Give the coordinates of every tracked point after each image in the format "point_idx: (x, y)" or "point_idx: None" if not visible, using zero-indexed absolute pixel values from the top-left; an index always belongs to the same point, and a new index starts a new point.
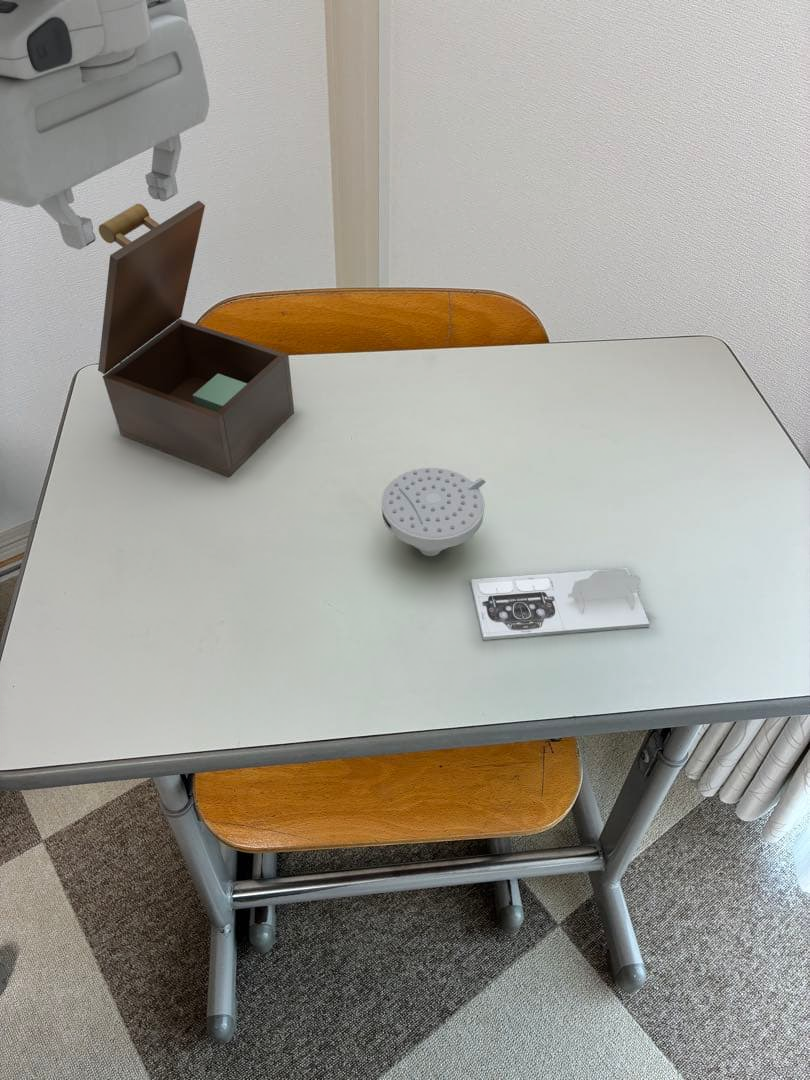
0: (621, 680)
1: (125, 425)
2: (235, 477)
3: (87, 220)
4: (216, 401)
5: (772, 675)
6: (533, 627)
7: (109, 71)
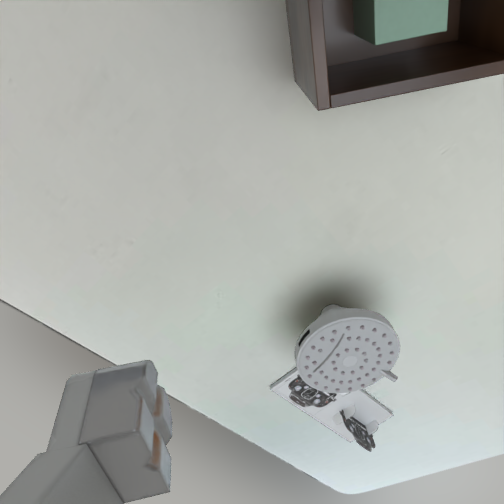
0: (297, 446)
1: None
2: None
3: (153, 493)
4: (379, 16)
5: (353, 486)
6: (300, 405)
7: None
